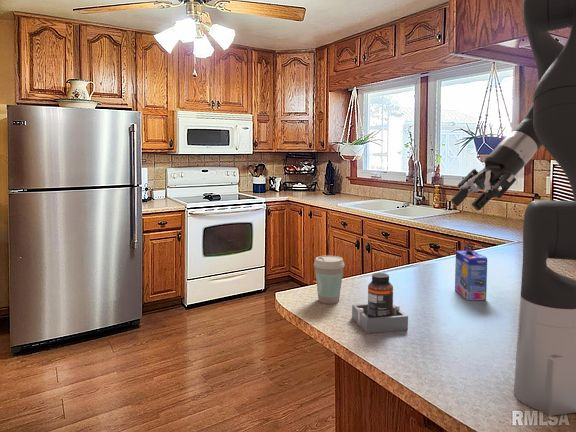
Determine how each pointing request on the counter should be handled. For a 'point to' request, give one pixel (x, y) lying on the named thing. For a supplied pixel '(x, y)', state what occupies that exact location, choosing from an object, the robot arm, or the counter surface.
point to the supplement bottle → (380, 296)
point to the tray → (379, 320)
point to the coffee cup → (329, 278)
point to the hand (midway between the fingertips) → (463, 205)
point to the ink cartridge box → (471, 275)
